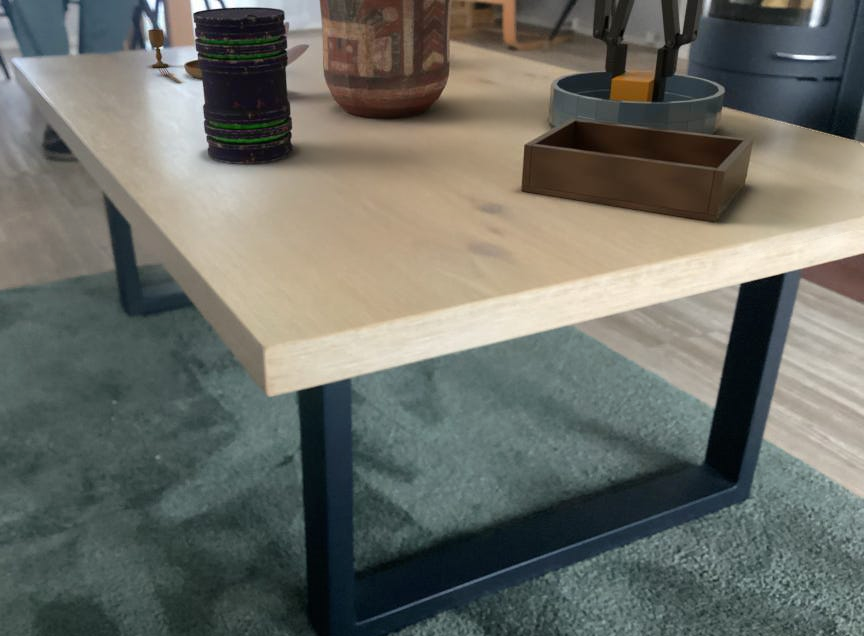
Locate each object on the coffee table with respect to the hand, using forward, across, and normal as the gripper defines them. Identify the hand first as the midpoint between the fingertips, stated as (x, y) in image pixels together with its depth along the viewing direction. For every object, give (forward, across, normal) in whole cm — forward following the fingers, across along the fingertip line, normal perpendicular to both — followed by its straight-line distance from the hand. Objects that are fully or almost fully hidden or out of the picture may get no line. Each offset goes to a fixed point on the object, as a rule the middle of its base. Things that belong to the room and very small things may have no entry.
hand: (636, 101), depth 106 cm
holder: (+3, +8, -25) cm, 26 cm away
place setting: (+2, -73, +5) cm, 74 cm away
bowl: (+3, 0, 0) cm, 3 cm away
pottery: (+3, -32, -6) cm, 33 cm away
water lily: (+3, -52, -8) cm, 53 cm away
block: (+1, 0, 0) cm, 1 cm away
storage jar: (+3, -34, -33) cm, 48 cm away
